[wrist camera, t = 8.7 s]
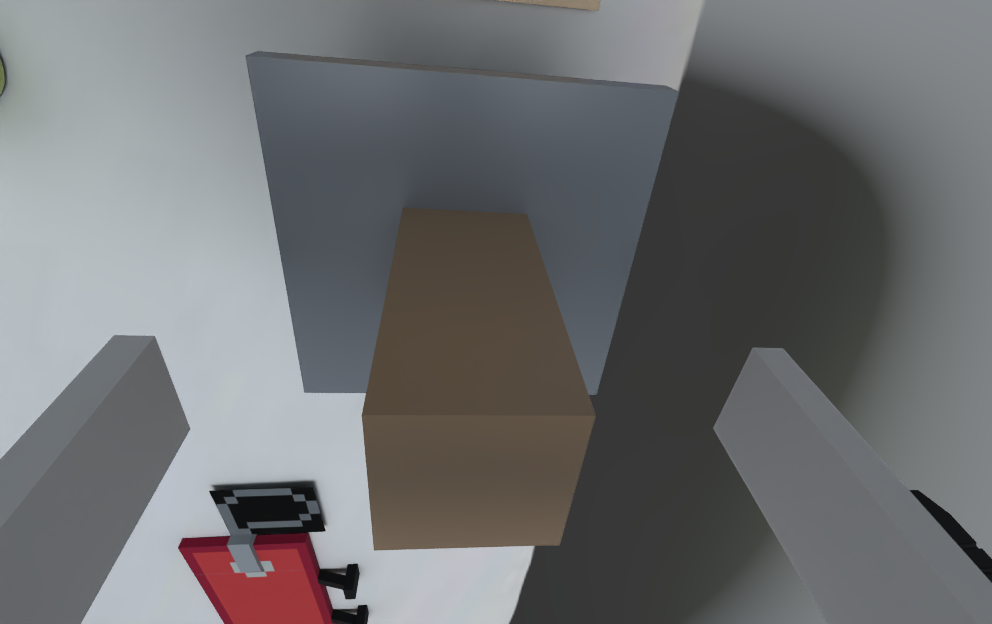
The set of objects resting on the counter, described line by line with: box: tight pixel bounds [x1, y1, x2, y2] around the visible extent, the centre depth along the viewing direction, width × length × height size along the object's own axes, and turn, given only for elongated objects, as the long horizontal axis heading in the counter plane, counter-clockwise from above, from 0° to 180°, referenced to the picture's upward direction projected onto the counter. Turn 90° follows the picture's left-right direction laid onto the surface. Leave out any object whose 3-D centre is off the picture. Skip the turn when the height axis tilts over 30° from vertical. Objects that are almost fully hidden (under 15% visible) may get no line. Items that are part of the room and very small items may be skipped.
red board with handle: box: [178, 487, 369, 624], centre depth 49 cm, size 30×3×15 cm
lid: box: [246, 51, 679, 550], centre depth 14 cm, size 12×12×10 cm
